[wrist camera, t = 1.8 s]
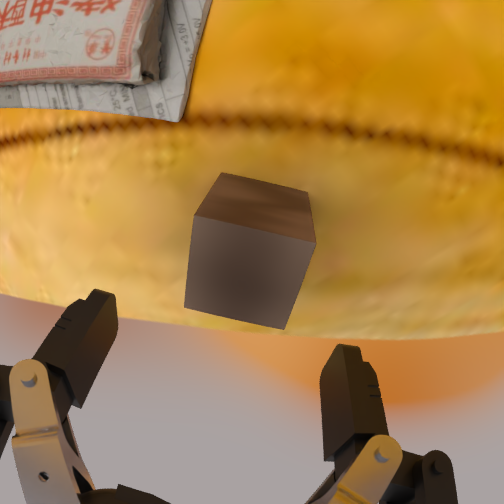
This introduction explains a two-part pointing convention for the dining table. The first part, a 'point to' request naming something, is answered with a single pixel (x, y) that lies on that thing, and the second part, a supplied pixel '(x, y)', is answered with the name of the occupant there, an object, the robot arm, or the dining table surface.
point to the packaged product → (100, 55)
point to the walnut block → (249, 251)
